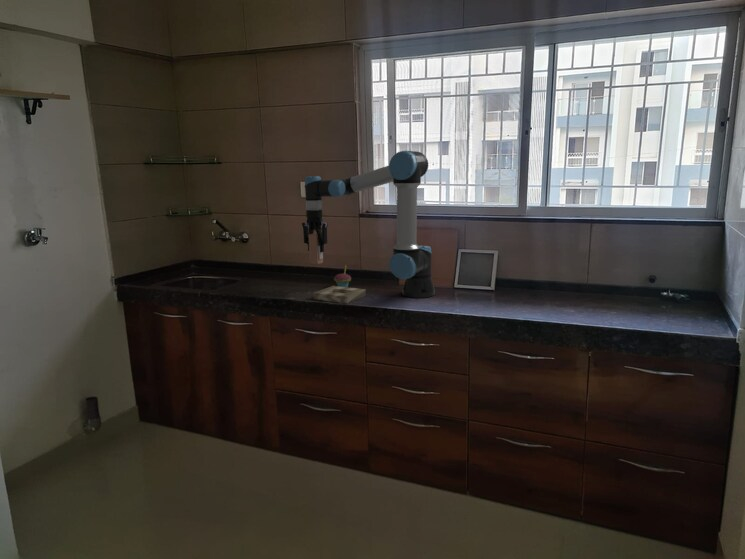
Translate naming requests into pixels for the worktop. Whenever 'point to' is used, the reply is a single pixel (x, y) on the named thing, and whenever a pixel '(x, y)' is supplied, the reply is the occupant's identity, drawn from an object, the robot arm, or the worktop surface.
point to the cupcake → (342, 279)
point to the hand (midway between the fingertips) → (316, 258)
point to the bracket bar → (314, 249)
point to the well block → (339, 294)
